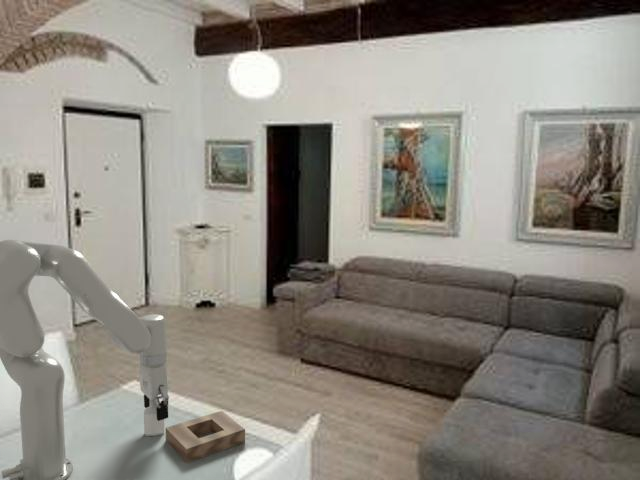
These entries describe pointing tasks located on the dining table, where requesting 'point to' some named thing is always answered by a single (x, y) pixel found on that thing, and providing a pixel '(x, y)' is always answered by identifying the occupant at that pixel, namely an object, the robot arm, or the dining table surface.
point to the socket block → (194, 447)
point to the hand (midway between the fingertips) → (156, 412)
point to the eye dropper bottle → (152, 421)
